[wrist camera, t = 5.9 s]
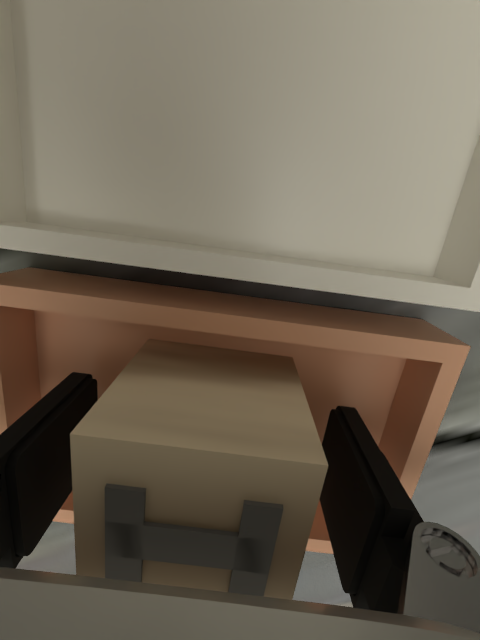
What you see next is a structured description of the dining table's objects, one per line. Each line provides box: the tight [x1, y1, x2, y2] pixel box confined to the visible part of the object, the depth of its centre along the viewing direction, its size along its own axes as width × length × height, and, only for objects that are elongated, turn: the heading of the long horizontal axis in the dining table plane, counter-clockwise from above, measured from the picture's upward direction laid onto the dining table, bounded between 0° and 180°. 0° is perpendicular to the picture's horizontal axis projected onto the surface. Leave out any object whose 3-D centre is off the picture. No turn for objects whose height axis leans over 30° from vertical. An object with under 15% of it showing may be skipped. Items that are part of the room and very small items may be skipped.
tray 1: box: [0, 0, 480, 312], centre depth 8 cm, size 8×14×2 cm, turn 83°
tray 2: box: [0, 267, 471, 554], centre depth 11 cm, size 8×14×2 cm, turn 83°
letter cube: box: [70, 339, 328, 600], centre depth 9 cm, size 5×5×5 cm
